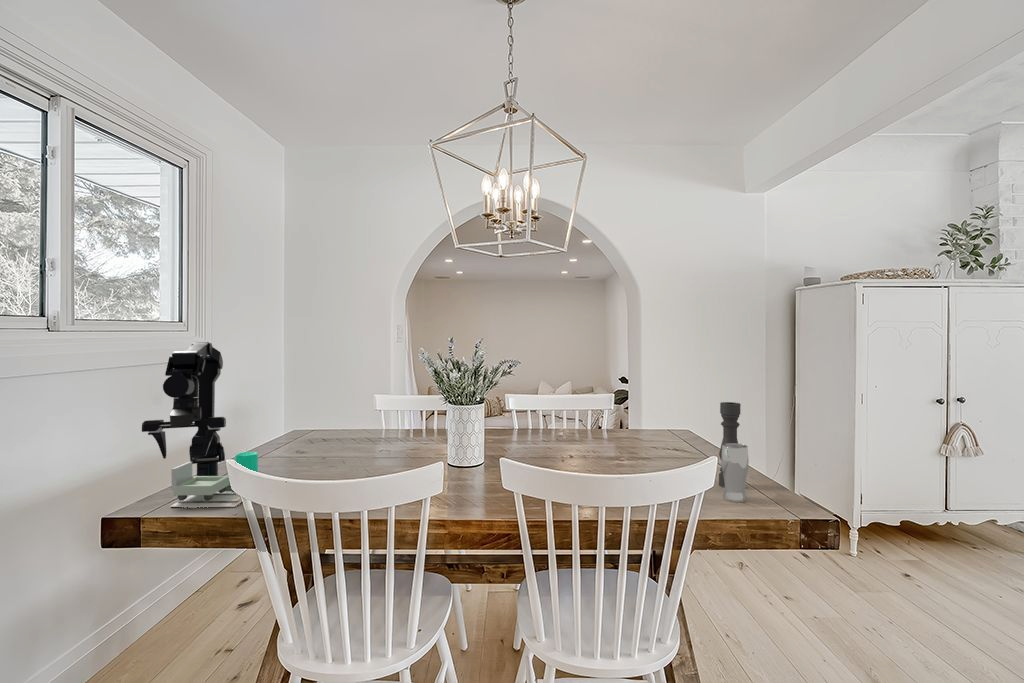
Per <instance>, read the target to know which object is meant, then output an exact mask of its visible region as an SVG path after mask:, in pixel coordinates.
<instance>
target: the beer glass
mask: <svg viewBox="0 0 1024 683" xmlns="http://www.w3.org/2000/svg"><path fill="white" fill-rule="evenodd" d="M721 467H722V471H723V476H724V483H725V488H724V487H723V488H724V489H723V494H722V498H723V499H724V500H725V501H727V502H733V503H745V502H746V501H747V494H746V481H747V475H748V471H749V446H748V445H746V444H742V443H738V444H737V443H725V444H723V445H722V460H721Z"/></svg>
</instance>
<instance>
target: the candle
mask: <svg viewBox="0 0 1024 683" xmlns="http://www.w3.org/2000/svg"><path fill="white" fill-rule="evenodd" d="M258 454H259V453H258V452H257V451H256V452H252V451H248V449H247V448H246V451H243V452H240V453H236V455H235V463H236V462H237V463H239V464H241V465H242V466H244V467H246V468H248V469H250V470H253V471H256V472H258V473H259V463H258V462H259V460H258V459H259V455H258Z"/></svg>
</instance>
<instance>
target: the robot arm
mask: <svg viewBox="0 0 1024 683" xmlns="http://www.w3.org/2000/svg"><path fill="white" fill-rule="evenodd" d="M223 366H224V361H223V356H222V353H221V351H219V350H218V349H217V348H215V347H213V344H212V342H209V341H195V342H191V345H190V346H189V347H188V348H187V349H185V350H175V351H174V350H173V352H171V355H169V358H168V361H167V365H166V369H165V373H164V375H165V376H166V377H167V378H166V379H165V380H164V382H163V384H162V390H163V392H164V393H165V395H166V396H168V397H170V398H172V399H173V405H172V406H173V407H172V409H171V412H170V413H169V421H164V419H147V420H144V421H143V422H142V423H141V433H145V432H147V436H152V437H153V438H154V440H155V441H156V443H157V445H158V447H159V450H160V453H161V456H162V458H163V460H166V459H167V440H166V430H165V431H163V430H164V429H180V428H197V431H196V432H195V434H194V435H193V437H192V438H191V444H190V445H189V449H188V450H189V453H188V454H189V459H190V461H189V462H192V465H194V464H196V476H219V463H222V462H224V461H226V453H225V448H224V446H223V443H222V442H221V437H220V435H219V434H218V432H220V431H221V428H226V427H227V419H226V417H225V416H215V400H216V399H215V398H216V397H215V392H216V390H215V388H216V381H217V380H218V379H219V377H220V376H221V374H222V373H221V372H222V371H221V370H222V369H223V368H224V367H223Z"/></svg>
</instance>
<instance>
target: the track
mask: <svg viewBox="0 0 1024 683" xmlns="http://www.w3.org/2000/svg"><path fill="white" fill-rule="evenodd" d="M232 491H233V490H231V491H227V490H226V491H225V492H223V493H219V492H216V493H214V494H213V498H212V499H211V500H209V501H206V500H205V499H204V495H188V496H187V498H186V499H185V500H183V501H180V500H178V501H177V502H175V503H173V504H172V505H170V506H169V507H182V508H181V509H189V508H190V509H197V507H199V508H198V509H201V508H200V507H203V508H204V507H207V508H208V507H235V506H236V507H238V506H239V505H240V504H239V503H241V499H240V497H238V496H237V495H236V494H235V493H233V494H232V493H231V492H232ZM234 495H235V496H236V497H237V499H236V497H235V498H234ZM238 504H239V505H238ZM241 504H242V503H241ZM237 505H238V506H237ZM183 507H184V508H183ZM187 507H188V508H187ZM236 507H235V508H236ZM203 508H202V509H203ZM204 509H205V508H204Z"/></svg>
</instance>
